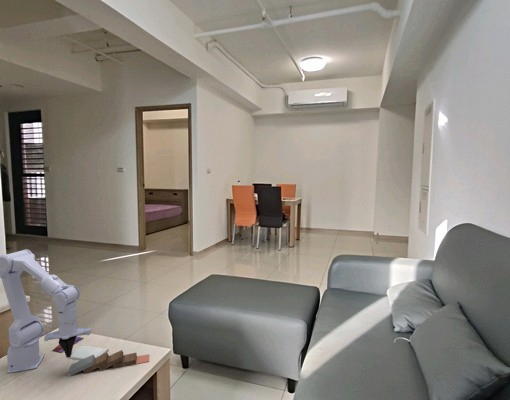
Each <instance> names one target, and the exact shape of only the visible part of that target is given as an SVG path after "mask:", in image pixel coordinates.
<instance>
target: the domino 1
mask: <svg viewBox="0 0 510 400" xmlns="http://www.w3.org/2000/svg"><path fill="white" fill-rule="evenodd" d="M94 360H95V356H94V354H93V355H91V356H89V357H86V358H84V359H82V360H77V361H75V362H74V363H71V364H70V367H69V369H68V372H67V373H68V375H69V377H70V376H73V375H75V374H77V373H80V372H81V371H83V370H84V369H86V368H88V367H91V366H93V363H94Z"/></svg>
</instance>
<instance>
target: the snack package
mask: <svg viewBox="0 0 510 400" xmlns="http://www.w3.org/2000/svg"><path fill="white" fill-rule="evenodd" d="M82 339H84V337H81V336H77V337H76V339H75V342H74V345H75V344H77V343H79V342H80V341H82ZM52 351H53V352H57V353H58V352H60V353H63V352H64V350H63V348H62V347H61V346H60V345H59V344H58V345H56V346H55V348H53V349H52Z"/></svg>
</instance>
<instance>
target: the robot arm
mask: <svg viewBox="0 0 510 400" xmlns="http://www.w3.org/2000/svg"><path fill="white" fill-rule="evenodd" d="M24 271H25V272H26V273H28V274H29V275H31V276H32V277H33V278H35V279H36V280H37V281H39V282H40V288H41V289H43V290H44V291H45V292H46V293H48V295H50V296H51V297H52V300H53V304H54V305H55V310H56V312H57V320H58V321H57V322H58V330H57V331H53V332H49V333H45V334H44V336H43V340H44V342H48V341H50V340H51V341H53V340H58V345H60V346H61V347H62V348H63V350H64V351H63V352H64V354H65V358H67V359H68V357H71V354H72V353H73V348H74V346H75V344H74V342H75V339H76V337H81V336H90V335H91V332H92V331H91V330H92V329H91V327H78V326H77V325H78V323H77V321H78V320H77V318H78V317H77V300H78V299H80V296H81V295H80V291H79V288H78V287H77V286H75V285H70V284H67V283H65V282H64V280H62V279H61V278H59V276H58V275H56V274H49V273H48V272H47V271H46V270H45V268H43V266H41V264H40V263H38V261H36V255H35V253H32V251H31V250H30V249H27V248H25V249H22V250H19V251H14V252H11V253H7V254H2V255H0V279H1V282H2V285H3V289H4V292H5V295H6V299H7V303H8V304H9V307H10V308H9V309H10V310H11V311H10V313H11V316H12V318H13V322H12V323H11V324H10V326H9V328H8V330H7V331H8V342H9V344H10V345H9V346H8V348H7V349H8V350H7V353H6V359H7V371H6V373H7V374H9V373H16V372H23V371H27V370H34V369H38V367H39V365H40V364H41V363H42V361H43V359H44V355H40V339H41V335H43V333H44V331H45V330H44V329H45V328H44V324H43V322H41V320H40V317H39V316H37V315H33V314H32V312H31V310H30V306H29V302H28V299H27V297H26V292H25V290H24V286H23V284H22V283H23V282H22V281H21V275H22V273H23V272H24Z"/></svg>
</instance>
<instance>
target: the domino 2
mask: <svg viewBox="0 0 510 400" xmlns="http://www.w3.org/2000/svg"><path fill="white" fill-rule="evenodd" d="M109 356H110V354H109V353H108V352H107V353H105V354H103V355H100V356H98V357H96V358H95V360H94V363H93V366H91V367H88V368H86V369H84V370H82V371H83V374H87V373H89V372H91V371H93V370H95V369H97V368H99V367H100V366H102V365H105V364H107V361H108V357H109Z"/></svg>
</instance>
